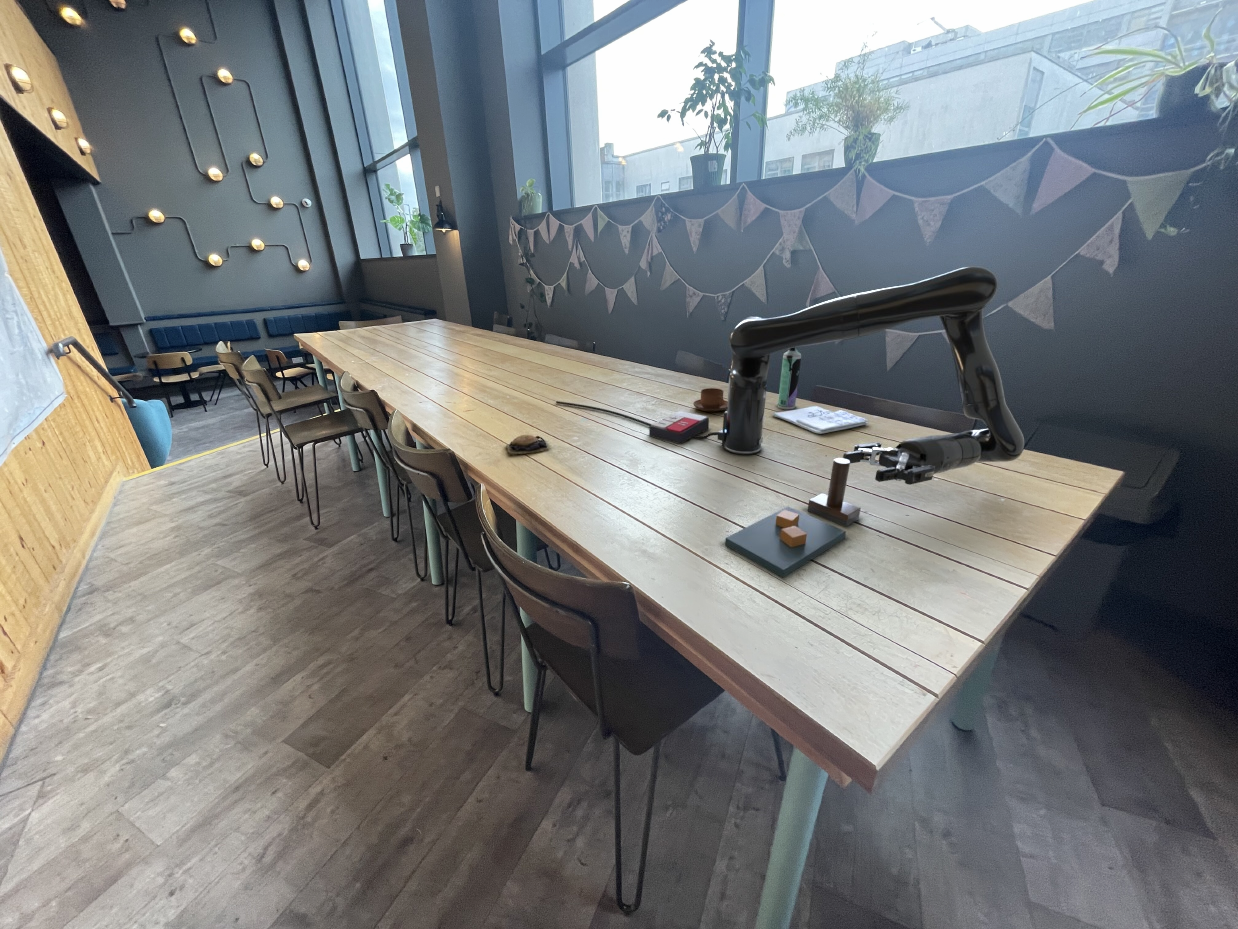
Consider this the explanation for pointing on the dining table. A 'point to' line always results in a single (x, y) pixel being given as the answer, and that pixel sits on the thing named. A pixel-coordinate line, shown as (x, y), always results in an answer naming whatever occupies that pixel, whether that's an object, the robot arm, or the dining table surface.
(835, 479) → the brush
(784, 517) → the brown wooden block
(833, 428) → the folded bicycle print cloth
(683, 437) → the red-topped box
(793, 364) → the spray can
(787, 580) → the dining table surface
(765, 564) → the tray
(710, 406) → the cup and saucer
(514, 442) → the brown domed lump
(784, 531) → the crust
